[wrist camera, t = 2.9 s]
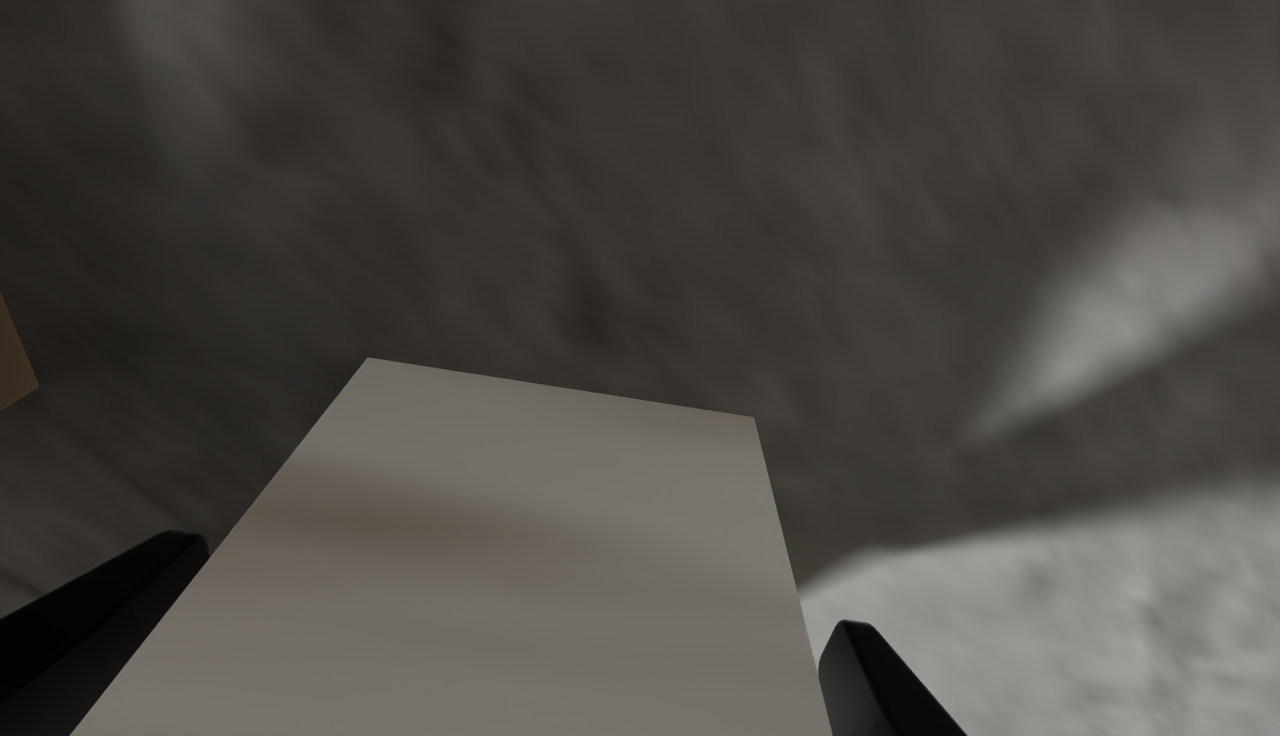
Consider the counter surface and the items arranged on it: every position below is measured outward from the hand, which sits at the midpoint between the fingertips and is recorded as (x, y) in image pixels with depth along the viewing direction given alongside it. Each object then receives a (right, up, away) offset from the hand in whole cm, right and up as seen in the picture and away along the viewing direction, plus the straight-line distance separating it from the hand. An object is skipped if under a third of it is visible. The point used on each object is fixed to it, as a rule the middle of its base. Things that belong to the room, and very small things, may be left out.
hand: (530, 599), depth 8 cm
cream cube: (0, +1, +1) cm, 1 cm away
